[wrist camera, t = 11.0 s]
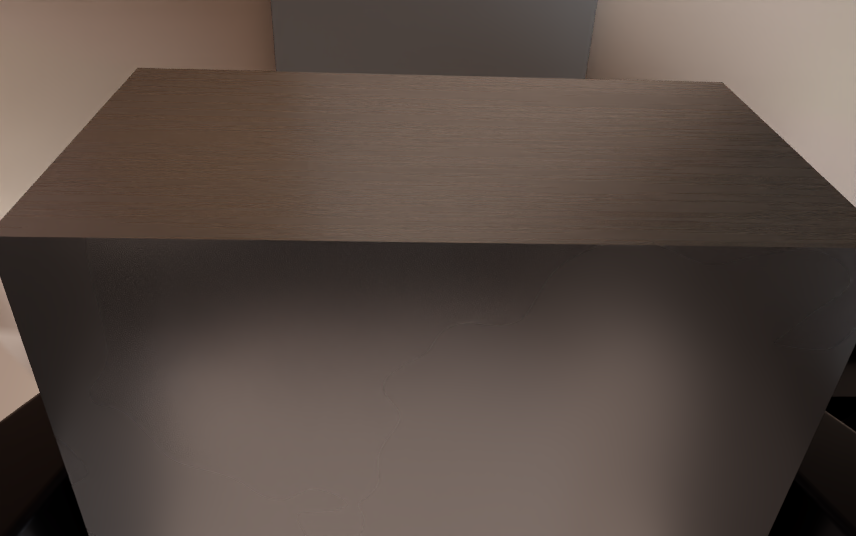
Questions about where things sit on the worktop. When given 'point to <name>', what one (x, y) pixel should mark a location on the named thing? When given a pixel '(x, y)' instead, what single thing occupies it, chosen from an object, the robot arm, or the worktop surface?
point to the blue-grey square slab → (435, 37)
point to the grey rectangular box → (430, 306)
